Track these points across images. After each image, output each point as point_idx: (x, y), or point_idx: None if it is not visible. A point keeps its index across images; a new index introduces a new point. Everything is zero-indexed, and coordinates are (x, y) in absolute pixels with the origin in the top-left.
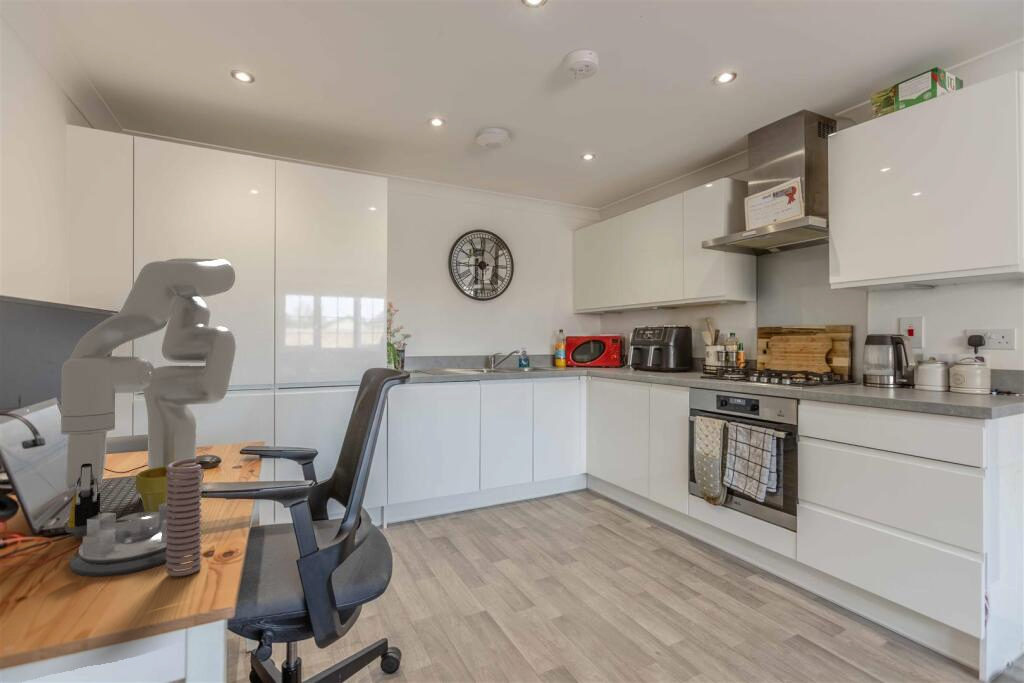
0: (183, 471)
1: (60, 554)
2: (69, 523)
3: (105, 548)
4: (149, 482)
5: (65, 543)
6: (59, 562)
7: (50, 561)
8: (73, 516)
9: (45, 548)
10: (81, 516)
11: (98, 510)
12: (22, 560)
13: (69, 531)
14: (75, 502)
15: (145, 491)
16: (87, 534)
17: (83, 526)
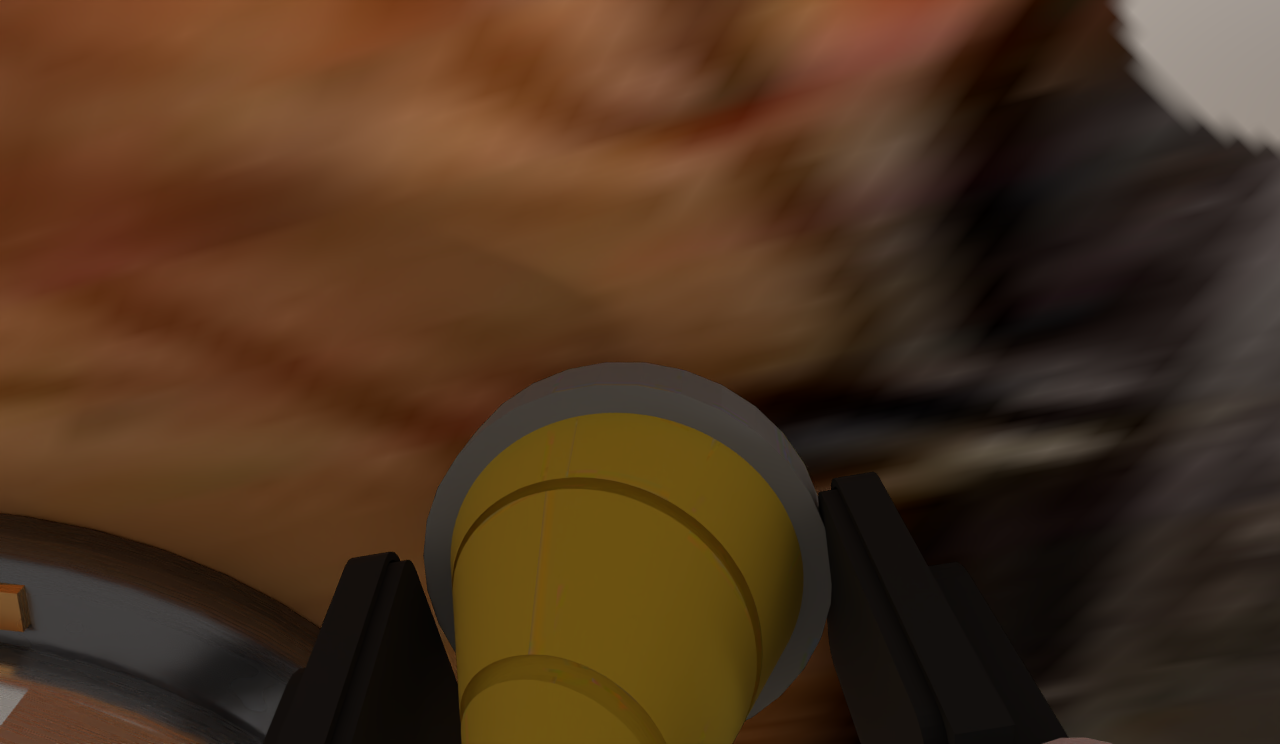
0: None
1: (239, 341)
2: (509, 474)
3: None
4: None
5: (589, 295)
6: (2, 393)
7: (55, 309)
8: (467, 590)
9: (518, 137)
10: (275, 731)
11: (844, 685)
12: (182, 8)
13: (479, 429)
14: None
15: None
16: (11, 717)
17: (428, 590)
